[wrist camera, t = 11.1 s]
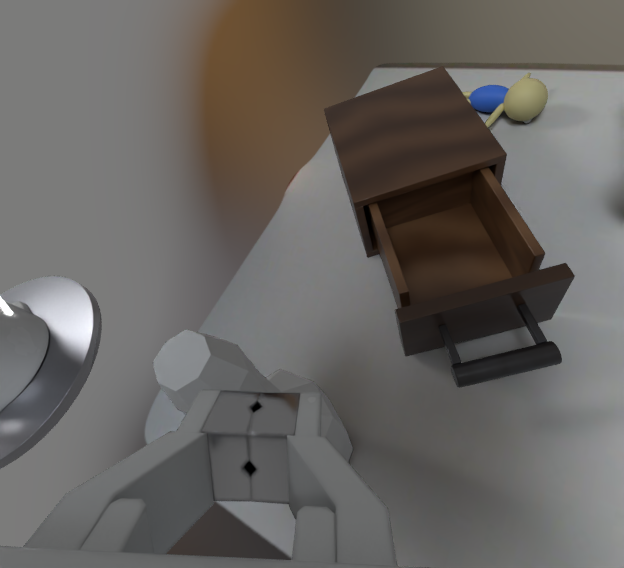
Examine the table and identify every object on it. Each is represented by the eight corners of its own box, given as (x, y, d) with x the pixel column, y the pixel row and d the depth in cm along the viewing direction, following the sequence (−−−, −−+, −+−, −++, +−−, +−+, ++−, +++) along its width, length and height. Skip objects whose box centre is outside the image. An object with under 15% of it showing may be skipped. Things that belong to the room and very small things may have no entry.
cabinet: (494, 220, 39) (507, 153, 32) (367, 257, 41) (353, 203, 34) (442, 132, 48) (443, 65, 41) (339, 166, 50) (323, 108, 43)
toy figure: (443, 99, 51) (450, 61, 48) (508, 92, 51) (519, 53, 48) (470, 135, 44) (479, 93, 41) (546, 127, 44) (562, 84, 40)
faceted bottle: (326, 513, 30) (157, 496, 12) (274, 455, 33) (80, 372, 15) (377, 447, 31) (296, 342, 13) (322, 398, 34) (197, 261, 16)
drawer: (583, 373, 29) (617, 337, 23) (422, 410, 31) (419, 385, 25) (480, 200, 40) (487, 148, 34) (366, 235, 42) (355, 191, 36)
